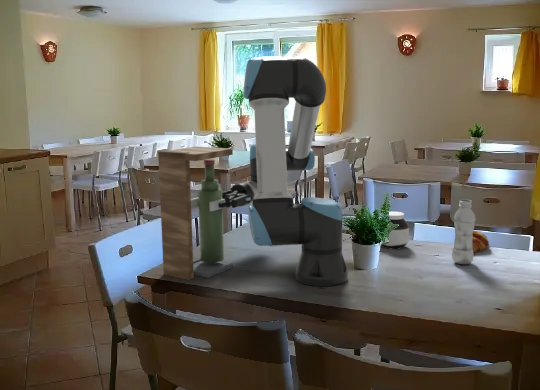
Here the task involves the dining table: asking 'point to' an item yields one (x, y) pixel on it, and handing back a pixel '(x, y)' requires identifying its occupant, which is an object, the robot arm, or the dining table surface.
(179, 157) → the shelf
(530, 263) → the dining table surface
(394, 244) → the spread jar
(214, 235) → the wine bottle
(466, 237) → the plastic bottle
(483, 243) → the croissant
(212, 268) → the seat pad
